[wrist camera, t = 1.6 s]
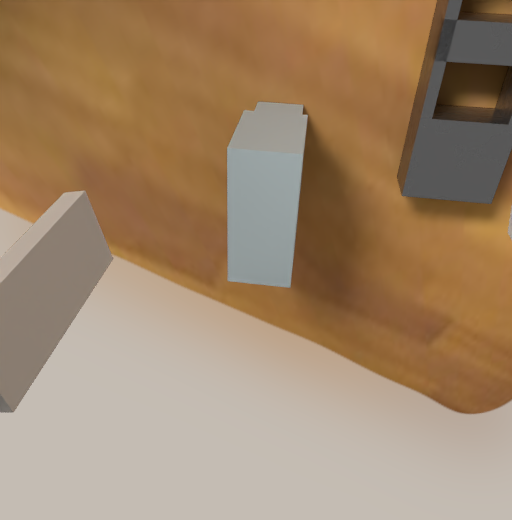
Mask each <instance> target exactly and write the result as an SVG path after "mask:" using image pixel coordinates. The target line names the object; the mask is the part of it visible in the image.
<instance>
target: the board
mask: <svg viewBox="0 0 512 520" xmlns="http://www.w3.org/2000/svg"><path fill="white" fill-rule="evenodd" d="M461 4H462V0H437V4H436V8H435V13H434V17H433V21H432V26H431V30H430V35H429V39H428V43H427V48H426V52H425V57H424V61H423V65H422V70H421V74H420V78H419V83H418V87H417V92H416V96H415V100H414V105H413V109H412V113H411V118H410V122H409V127H408V131H407V135H406V140H405V144H404V149H403V153H402V157H401V162H400V166H399V170H398V175H397V179H398V183H399V187H400V191H401V195H402V196H408V197H419V198H430V199H442V200H453V201H464V202H475V203H487V204H491V203H492V200H493V198H494V195H495V192H496V189H497V187H498V184H499V181H500V179H501V176H502V173H503V171H504V168H505V165H506V162H507V160H508V157H509V154H510V152H511V149H512V15H510V14H492V13H474V12H459V11H460V7H461ZM446 62H459V63H474V64H490V65H505V66H509V68H508V71H507V74H506V77H505V80H504V83H503V86H502V89H501V92H500V95H499V98H498V101H497V104H496V107H495V109H493V108H480V107H466V106H452V105H438V104H436V101H437V97H438V93H439V90H440V86H441V82H442V78H443V74H444V70H445V66H446Z"/></svg>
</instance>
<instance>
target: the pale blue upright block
mask: <svg viewBox="0 0 512 520" xmlns="http://www.w3.org/2000/svg"><path fill="white" fill-rule="evenodd" d="M307 119H308V115H303V105H298V104H285V103H272V102H258V103H257V105H256V108H255V110H254V111H249V110H244V112H243V114H242V116H241V118H240V121H239V123H238V125H237V127H236V130H235V132H234V134H233V136H232V139H231V141H230V143H229V145H228V148H227V206H228V281H232V282H242V283H251V284H260V285H270V286H279V287H288V288H290V285H291V276H292V267H293V258H294V249H295V240H296V231H297V221H298V210H299V200H300V190H301V180H302V170H303V159H304V149H305V139H306V129H307Z"/></svg>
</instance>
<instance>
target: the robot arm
mask: <svg viewBox="0 0 512 520" xmlns="http://www.w3.org/2000/svg"><path fill="white" fill-rule="evenodd" d="M508 234H509V236H510V238H511V240H512V207H511V214H510V221H509V227H508ZM112 260H113V257H112V255H111V252H110V250H109V247H108V245H107V242H106V240H105V238H104V235H103V233H102V230H101V228H100V225H99V223H98V221H97V218H96V216H95V213H94V211H93V208H92V206H91V204H90V201H89V199H88V196H87V194H86V191H75V192H65V193H63V194H62V196H61V197H60V198H59V199H58V200H57V201H56V202H55V203H54V204H53V205H52V206H51V207H50V208H49V209H48V210H47V211H46V212H45V213H44V214H43V215H42V216H41V217H40V218H39V219H38V220H37V221H36V222H35V223H34V224H33V225H32V226H31V227H30V228H29V229H28V230H27V231H26V232H25V233H24V234H23V235H22V236H21V237H20V238H19V239H18V240H17V241H16V242H15V243H14V244H13V245H12V246H11V247H10V248H9V250H8V251H7V252H6V253H5V254H4V255H3V256H2V257H1V258H0V412H14V411H15V409H16V408H17V406H18V405H19V403H20V401H21V400H22V398H23V397H24V395H25V394H26V392H27V391H28V389H29V388H30V386H31V385H32V383H33V382H34V380H35V378H36V377H37V375H38V374H39V372H40V371H41V369H42V368H43V366H44V364H45V363H46V361H47V360H48V358H49V357H50V355H51V354H52V352H53V351H54V349H55V348H56V346H57V345H58V343H59V341H60V340H61V338H62V337H63V335H64V334H65V332H66V331H67V329H68V327H69V326H70V325H71V323H72V321H73V320H74V318H75V317H76V315H77V314H78V312H79V311H80V309H81V307H82V306H83V305H84V303H85V301H86V300H87V298H88V297H89V295H90V293H91V292H92V291H93V289H94V288H95V286H96V285H97V283H98V281H99V280H100V278H101V277H102V275H103V274H104V272H105V271H106V269H107V268H108V266H109V265H110V263H111V261H112Z"/></svg>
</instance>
